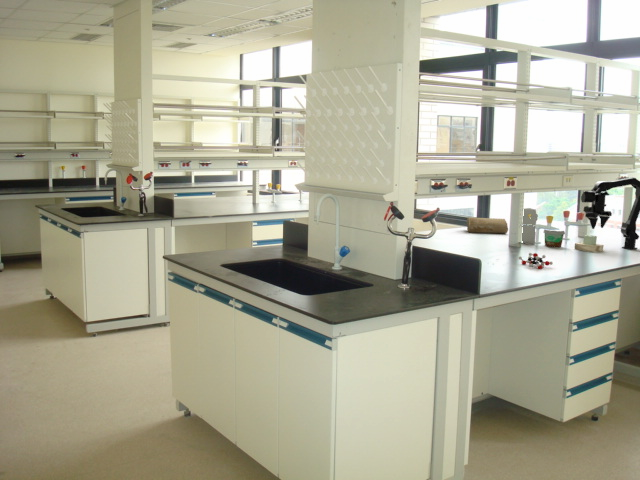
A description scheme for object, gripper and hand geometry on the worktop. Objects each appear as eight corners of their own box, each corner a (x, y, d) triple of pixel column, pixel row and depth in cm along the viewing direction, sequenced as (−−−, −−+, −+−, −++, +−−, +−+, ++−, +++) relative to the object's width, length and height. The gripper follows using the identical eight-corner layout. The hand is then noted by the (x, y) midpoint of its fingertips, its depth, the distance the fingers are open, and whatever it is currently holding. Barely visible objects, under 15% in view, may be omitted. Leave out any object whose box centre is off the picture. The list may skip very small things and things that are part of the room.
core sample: (507, 234, 413) (508, 220, 411) (468, 233, 414) (469, 218, 413) (502, 231, 427) (504, 217, 425) (464, 230, 428) (465, 216, 426)
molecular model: (543, 263, 316) (559, 263, 301) (524, 276, 314) (539, 276, 299) (534, 246, 315) (549, 245, 301) (514, 258, 314) (529, 258, 299)
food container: (540, 246, 368) (542, 230, 367) (542, 244, 374) (543, 228, 372) (562, 248, 363) (564, 231, 361) (563, 247, 368) (565, 230, 366)
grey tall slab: (535, 243, 377) (539, 208, 374) (534, 244, 374) (537, 209, 370) (518, 242, 382) (521, 207, 379) (516, 242, 379) (519, 207, 375)
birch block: (584, 248, 368) (584, 241, 367) (602, 251, 358) (603, 245, 357) (574, 249, 362) (575, 243, 362) (593, 253, 352) (593, 246, 352)
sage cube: (588, 243, 363) (589, 234, 362) (595, 244, 358) (596, 236, 358) (583, 243, 360) (583, 235, 359) (590, 245, 356) (591, 236, 355)
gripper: (596, 200, 377) (593, 225, 379) (578, 202, 366) (576, 227, 369) (613, 202, 368) (611, 227, 370) (595, 203, 357) (593, 230, 360)
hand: (597, 228), depth 368 cm, fingers open, 9 cm apart
